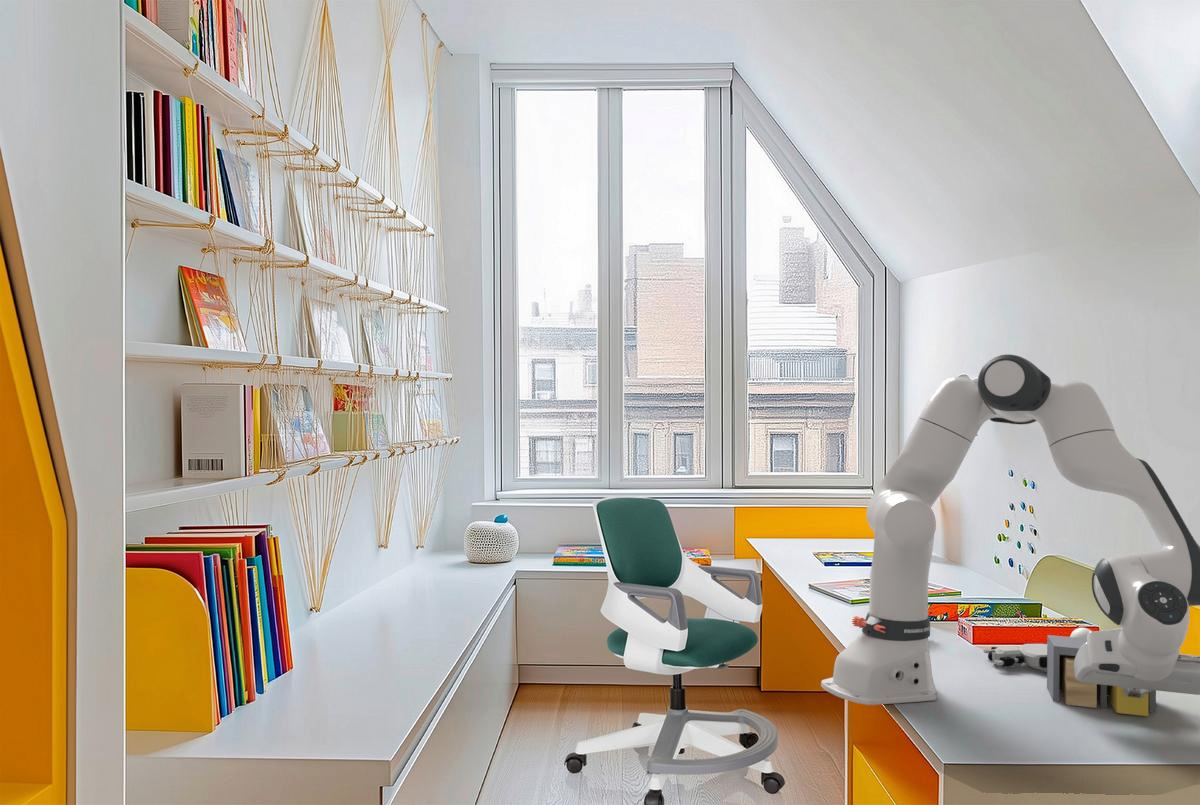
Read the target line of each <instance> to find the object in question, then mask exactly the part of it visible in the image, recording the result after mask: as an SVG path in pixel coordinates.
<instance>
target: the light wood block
mask: <svg viewBox="0 0 1200 805" xmlns="http://www.w3.org/2000/svg"><path fill="white" fill-rule="evenodd" d="M1075 657H1076V656H1070V655H1061V674H1060V691H1059V693H1060V695H1061V696H1062V698H1063V700H1064V703H1065V705H1067V706H1078V707H1087V708H1095V709H1097V706H1098V702H1097V684H1091V683H1081V682H1079V681H1078V680H1077V679H1076V678H1075V673H1074V660H1075Z"/></svg>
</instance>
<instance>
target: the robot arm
mask: <svg viewBox="0 0 1200 805" xmlns="http://www.w3.org/2000/svg"><path fill="white" fill-rule="evenodd" d="M977 376H978V378H977V380H973V379H970V378H967V377H962V376H953V377H948V378H947V379H946V378H945V379H944V380H943V381H942V382H941V384H940V385H939V386H938V387H937V388H936V390H935V391H934V393H932V395H931V397H930V399H928V401H927V403H926V404H925V406H924V408H923V410H921V412H920V415H919V416H918V418H917V420H916V422H915V424H914V426H913V427H912V429H911V432H910V434H909V436H908V437H907V439H906V441H905V443H904V445H903V447H902V449H901V451H900V453H899V454H898V456H897V457H896V459H895V461H893V463H892V465H891V466H890V468H889V469H888V470H887V472H886V474H885V476H883V478H882V480H881V481H880V483H879V485H878V487H877V488H876V490H875V492H874V494H873V495H872V497H871V499H870V500H869V501H868V504H867V507H866V520H867V523H868V525H869V527H870V529H871V530H872V531H873V533H874V539H873V540H874V542H873V552H872V553H873V554H872V558H871V559H872V561H871V567H870V572H869V608H868V609H869V611H868V612H867V614H866V617H865V618H864V617H860V616H858V615H854V616H853V617H852V621H851V622H852V623H851V624H852V625H853V627H856V628H857V627H858V628H859V629H861V633H860V634H859V635H858V636H857V637H856V638H855V639H854V640H853V641H852V642H851V643H850V644H849V645H847V647H845V648H844V649H843V650H842V651H841V652H840V653H839V654H838V655H837V656H836V657H835V658H836V659H835V662H834V666H833V674H832V675H833V676H832V677H829V678H825V679H822V680H821V681H820V686H821V687H822V689H823V690H825V691H826V692H827V693H829V694H832V695H833V696H836V697H838V698H840V699H844V700H846V701H849V702H853V703H856V704H861V705H865V706H866V705H867V706H876V705H887V704H888V705H889V704H901V703H915V702H927V701H928V702H929V701H936V700H937V695H936V691H937V689H936V686H935V681H934V678H933V671H932V661H931V653H930V648H929V638H930V636H931V619H930V616H929V614H928V613H929V579H930V578H929V577H930V576H929V575H930V569H931V564H932V563H931V562H932V557H933V549H934V540H935V533H936V530H937V520H936V516H935V513H934V512H935V511H934V510H933V508H932V507H933V506H934V504H935V502H936V501H937V500H938V499H939V497H940V495H941V494H942V493H943V492H944V490H945V489H946V488H947V487H948V485H949V484H950V483H951V482H953V480H954V478H955V477H956V475H957V473H958V471H959V469H960V467H961V466H962V463H963V461H964V459H965V458H966V456H967V454H968V452H969V450H970V448H971V446H972V445H973V442H974V440H975V438H976V436H977V434H978V433H979V430H980V429H981V427H982V426H983V424H985V423H986V422H987V421H989V420H990V421H991V422H994V423H1003V424H1010V425H1030V424H1032V423H1035V422H1038V423H1039V425H1040V426H1041V427H1042V430H1043V432H1044V436H1045V437H1046V438H1045V439H1046V441H1047V444H1048V447H1049V451H1050V453H1051V457H1052V460H1053V462H1054V465H1055V467H1056V469H1057V470H1058V473H1059V474H1060V475H1061V476H1062V477H1063V478H1064V479H1065V480H1066V481H1068V482H1070V483H1071V484H1073V485H1076V486H1078V487H1080V488H1083V489H1087V490H1091V491H1097V492H1103V493H1109V494H1113V495H1117V496H1120V497H1124V498H1127V499H1129V500H1130V501H1132V502H1133V503H1135V504H1136V505H1137V506H1138V507H1139V509H1141V511H1142V513H1143V514H1144V517H1145V519H1146V520H1147V522H1148V524H1149V525H1150V527H1151V528H1152V531H1153V532H1154V535H1155V536H1156V538H1157V540H1158V542H1159V543H1160V545H1161V548H1160V549H1156V550H1155V549H1154V550H1150V551H1142V552H1136V553H1127V554H1122V555H1121V554H1120V555H1114V556H1113V555H1112V556H1109V557H1104V558H1101V559H1100V560H1099V562H1097V564H1096V566H1095V567H1094V571H1093V573H1092V577H1091V591H1092V595H1093V598H1094V600H1095V602H1096V604H1097V606H1098V608H1099V609H1100V611H1101V612H1102V614H1104V616H1106V617H1107V618H1108V619H1109V620H1110V621H1111V622H1113V623H1114V624H1115V625H1117V626H1120V627H1118V628H1113V629H1106V630H1096V631H1094V630H1092V632H1089V633H1088V635H1087V643H1085V644H1083V645H1082V646H1081V647H1080V648H1079V650H1078V652H1077V654H1076V657H1075V660H1074V673H1075V678H1076V679H1077V680H1078V681H1079V682H1081V683H1091V684H1100V685H1110V686H1119V687H1121V688H1122V689H1123V691H1124V696H1128V697H1137V698H1143V697H1144V694H1147V693H1149V692H1152V691H1153V690H1156V692H1157V691H1159V692H1167V693H1176V694H1184V695H1185V694H1186V695H1197V696H1199V695H1200V655H1195V654H1185V653H1184V654H1183V653H1180V651H1181V646H1182V645H1183V643H1184V642H1185V640H1186V638H1187V637H1186V636H1187V634H1188V631H1189V630H1188V629H1189V624H1190V617H1191V616H1190V607H1193V606H1200V545H1199V544H1198V543H1197V541H1196V540H1195V538H1194V536H1193V535H1192V533H1191V531H1190V530H1189V528H1188V525H1186V523H1185V521H1184V519H1183V517H1182V516H1181V514H1180V512H1179V510H1178V509H1177V507H1176V506H1175V504H1174V502H1173V500H1172V498H1171V497H1170V495H1169V493H1168V492H1167V490H1166V489H1165V486H1164V484H1163V483H1162V482H1161V480H1160V479H1159V477H1158V475H1157V474H1156V472H1155V471H1154V469H1153V468H1152V467H1151V466H1150V464H1149V463H1148V462H1147V461H1145V460H1144V459H1140V458H1138V457H1137V458H1136V457H1135V456H1134V455H1133V454H1131V453H1130V452H1129V450H1127V449H1126V447H1125V446H1124V445H1123V444H1122V443H1121V442H1120V440H1119V438H1118V436H1117V433H1116V430H1115V428H1114V425H1113V422H1112V420H1111V418H1110V416H1109V413H1108V411H1107V409H1106V407H1105V405H1104V403H1103V402H1102V400H1101V398H1100V397H1099V395H1098V393H1097V392H1096V390H1095V389H1094V388H1093V387H1092V386H1091V385H1090V384H1088V383H1086V382H1083V381H1074V380H1073V381H1071V380H1069V381H1065V382H1060V383H1052V381H1051V378H1050V377H1049V376H1048V375H1047V374H1046V373H1045V372H1043V371H1042V370H1041V369H1039V367H1037V366H1036V365H1035V363H1032V361H1029V360H1028V359H1026V358H1024V357H1023V356H1019V355H1016V354H1009V353H1008V354H1000V355H997V356H995V357H993V358H991V359H989V360H988V361H987V362H986V363H985V364H984V365H983V366H982V367H981V369H980V370H979V373H978V375H977Z"/></svg>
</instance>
